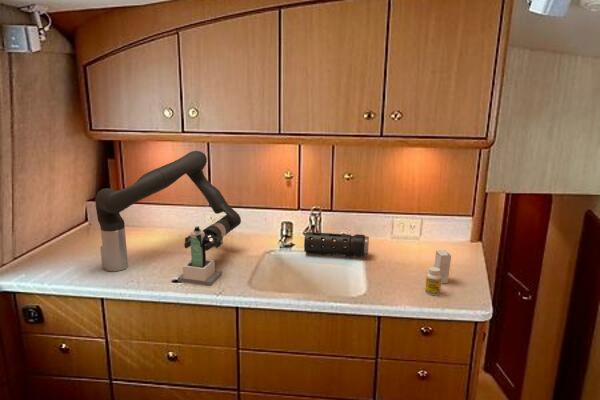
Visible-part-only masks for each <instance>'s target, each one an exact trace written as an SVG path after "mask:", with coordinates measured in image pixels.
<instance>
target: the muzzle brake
mask: <svg viewBox="0 0 600 400" xmlns="http://www.w3.org/2000/svg"><path fill="white" fill-rule="evenodd" d="M304 234H305V235H304V239H303V240H304V242H303V243H304V244H303V248H304V252H305V253H306V254H308V255H309V254H311V255H324V256H325V255H326V256H327V255H330V256H333V255H343V256H345V257H350V258H354V257H355V256H356V257H365V256H368V255H369V244H370V241H369V239H370V237H369V236H366V235H365V234H359V233H358V234H354V235H352V234H347V233H346V234H345V233H330V232H329V233H328V232H311V231H306V232H305V233H304Z"/></svg>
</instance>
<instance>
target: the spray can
mask: <svg viewBox="0 0 600 400" xmlns="http://www.w3.org/2000/svg"><path fill="white" fill-rule="evenodd" d="M189 236H190V240H191V246H190V252H191V253H190V255H191V257H190V258H191V259H190V260H192V267H200V268H204V267H205V266H206V260H207V257H206V252H207V251H206V250H205V245H206V244H205V234H204V232H203V230H201V229H200V226H198V225H197V226H195V227H194V229H193V231H191V232H190V234H189Z"/></svg>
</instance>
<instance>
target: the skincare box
mask: <svg viewBox="0 0 600 400" xmlns="http://www.w3.org/2000/svg"><path fill="white" fill-rule="evenodd" d="M434 256H435V258H434V264H433V265H434V266H433V267H437V268H439V269H440V273H439V274H440V275H441V283H446V284H448V282H449V276H450V269H451V262H452V254H450V252H449V251H448V250H447V249H436V250H435V255H434Z"/></svg>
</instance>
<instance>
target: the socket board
mask: <svg viewBox="0 0 600 400" xmlns="http://www.w3.org/2000/svg"><path fill="white" fill-rule="evenodd" d="M222 275H223V272H222V271H219V270H218V271H217V270H216V268H215V260H212V259H206V266H205V267H204V268H200V267H192V259H190V261H188V262H187V263H186V264H184V265H183V266H182V273H181V274H180V275H179V276H178V277H177V282H178V283H179V282H180V283H187V284H193V285H195V284H196V285H201V286H208V287H209V286H212V285H213V284H214V283H215V282H216V281H218V279H219V278H221V277H222Z"/></svg>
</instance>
